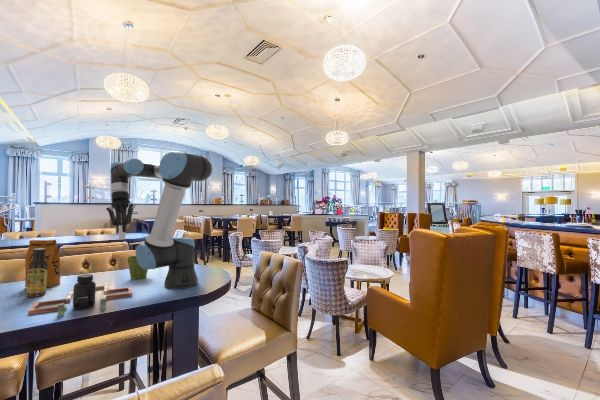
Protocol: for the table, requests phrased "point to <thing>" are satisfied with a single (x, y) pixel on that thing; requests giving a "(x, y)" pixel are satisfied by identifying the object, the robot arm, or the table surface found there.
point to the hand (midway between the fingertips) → (122, 239)
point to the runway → (60, 303)
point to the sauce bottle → (37, 274)
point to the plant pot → (136, 269)
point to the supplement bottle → (84, 292)
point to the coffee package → (50, 257)
